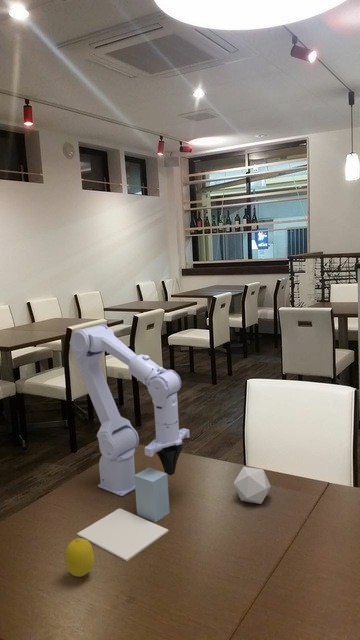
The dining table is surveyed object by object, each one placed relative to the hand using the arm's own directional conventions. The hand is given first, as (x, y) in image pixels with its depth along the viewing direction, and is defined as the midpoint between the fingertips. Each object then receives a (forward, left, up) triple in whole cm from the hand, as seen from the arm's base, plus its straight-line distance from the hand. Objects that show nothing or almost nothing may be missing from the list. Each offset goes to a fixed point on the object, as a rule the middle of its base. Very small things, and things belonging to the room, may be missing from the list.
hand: (169, 473), depth 122 cm
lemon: (+4, -32, -8) cm, 33 cm away
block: (0, -7, -8) cm, 10 cm away
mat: (0, -17, -8) cm, 18 cm away
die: (+16, +12, -8) cm, 22 cm away
